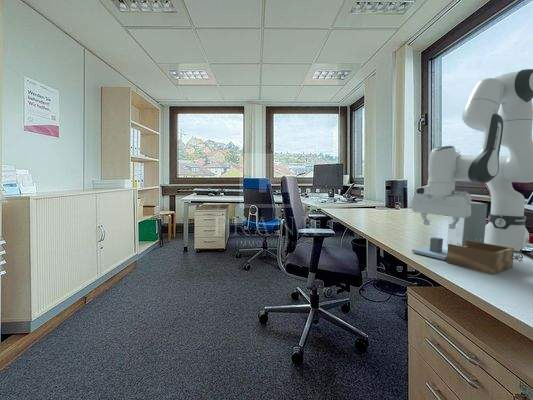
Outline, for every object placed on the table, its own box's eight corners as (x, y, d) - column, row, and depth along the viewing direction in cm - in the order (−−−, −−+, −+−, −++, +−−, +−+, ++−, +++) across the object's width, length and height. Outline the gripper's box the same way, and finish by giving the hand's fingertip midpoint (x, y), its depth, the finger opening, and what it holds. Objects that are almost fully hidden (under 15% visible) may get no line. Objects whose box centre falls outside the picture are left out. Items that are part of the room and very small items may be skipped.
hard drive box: (483, 256, 113) (488, 204, 111) (461, 254, 115) (465, 203, 113) (465, 246, 128) (469, 200, 127) (445, 245, 130) (449, 199, 128)
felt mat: (430, 250, 121) (430, 249, 121) (456, 256, 112) (456, 255, 112) (416, 253, 115) (416, 252, 115) (442, 259, 107) (442, 258, 107)
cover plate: (427, 248, 122) (428, 233, 121) (460, 255, 112) (461, 239, 111) (411, 251, 116) (412, 236, 115) (444, 259, 105) (446, 243, 105)
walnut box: (465, 257, 111) (467, 240, 111) (512, 267, 99) (514, 248, 99) (446, 262, 104) (448, 244, 103) (494, 274, 92) (496, 253, 91)
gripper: (476, 191, 105) (473, 230, 106) (419, 188, 122) (417, 222, 123) (467, 192, 101) (465, 232, 103) (410, 189, 118) (408, 223, 120)
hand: (438, 226), depth 113 cm, fingers open, 8 cm apart
